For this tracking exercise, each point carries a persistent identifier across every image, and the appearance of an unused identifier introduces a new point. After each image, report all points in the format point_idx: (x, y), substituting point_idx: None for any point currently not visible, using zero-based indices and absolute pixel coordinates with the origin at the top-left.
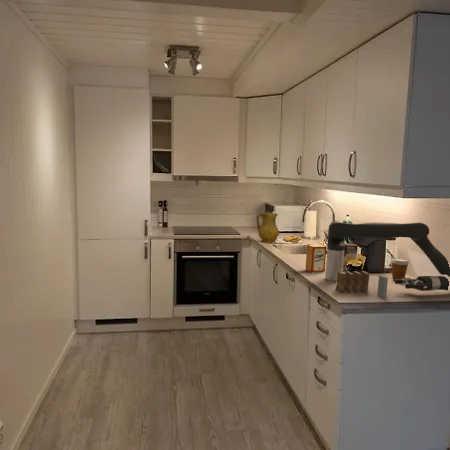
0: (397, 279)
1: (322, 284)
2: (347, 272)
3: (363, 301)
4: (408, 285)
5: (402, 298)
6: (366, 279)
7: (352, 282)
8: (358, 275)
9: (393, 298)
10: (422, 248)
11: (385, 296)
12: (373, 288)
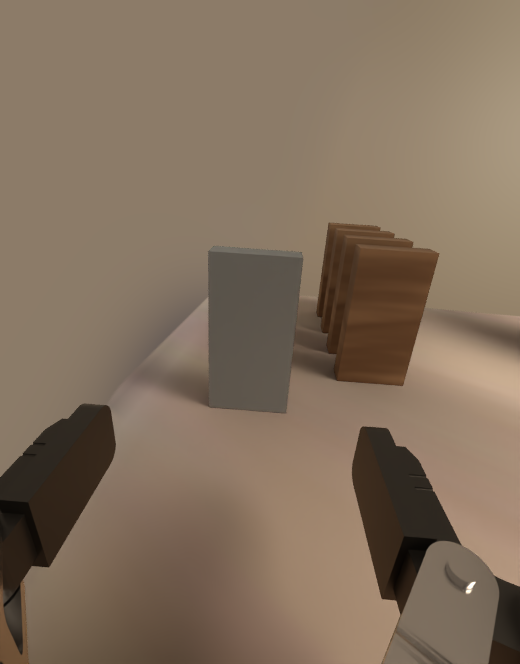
0: (388, 451)
1: (459, 318)
2: (367, 230)
3: (193, 316)
4: (59, 423)
5: (126, 507)
6: (348, 288)
7: (330, 278)
8: (342, 246)
9: (169, 435)
10: None
11: (210, 396)
12: (489, 468)
